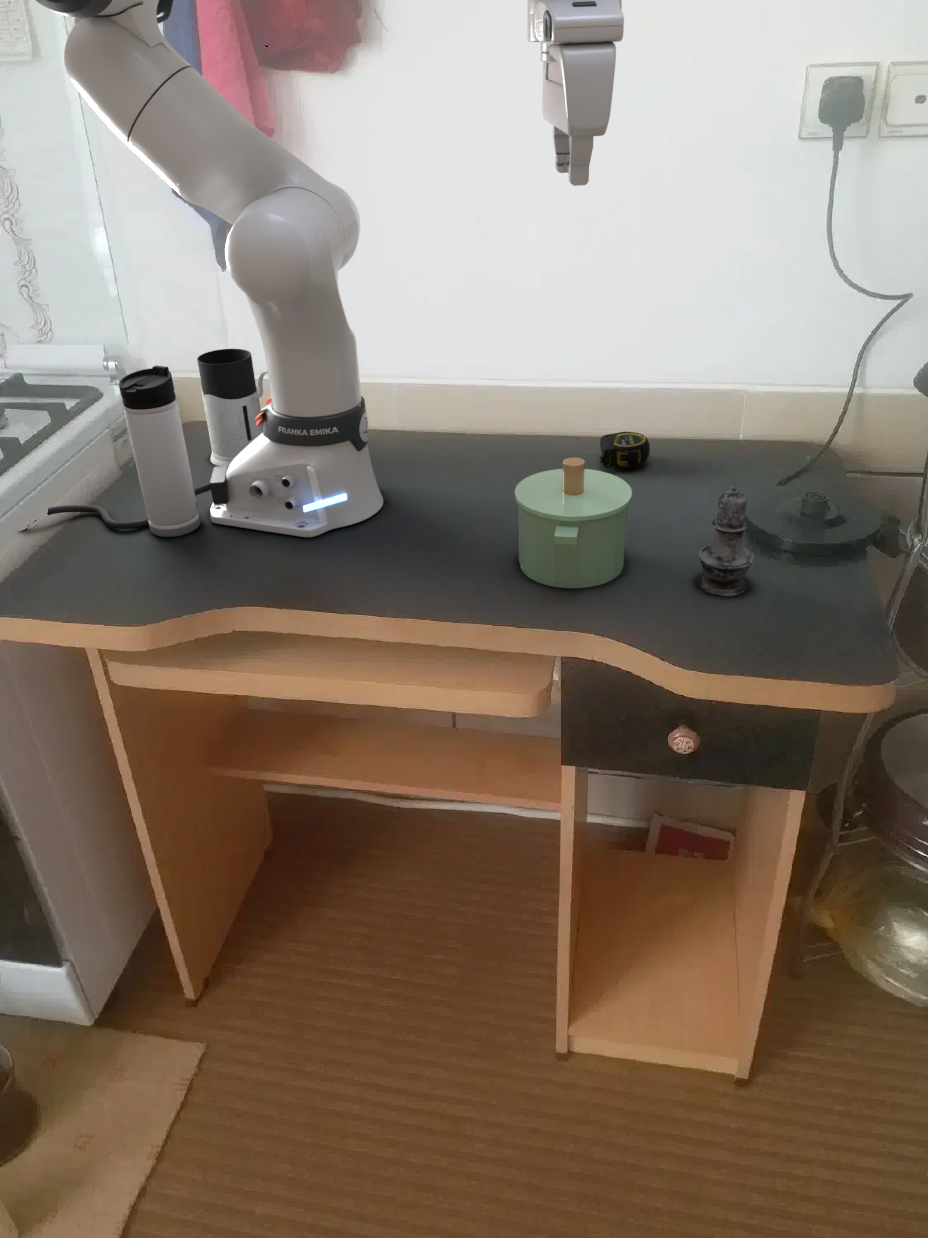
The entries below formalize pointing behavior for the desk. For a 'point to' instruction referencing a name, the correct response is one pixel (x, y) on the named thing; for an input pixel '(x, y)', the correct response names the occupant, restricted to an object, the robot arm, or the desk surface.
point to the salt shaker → (727, 548)
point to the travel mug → (160, 451)
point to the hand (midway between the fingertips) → (571, 177)
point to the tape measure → (624, 449)
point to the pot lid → (573, 493)
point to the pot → (571, 549)
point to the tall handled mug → (230, 401)
